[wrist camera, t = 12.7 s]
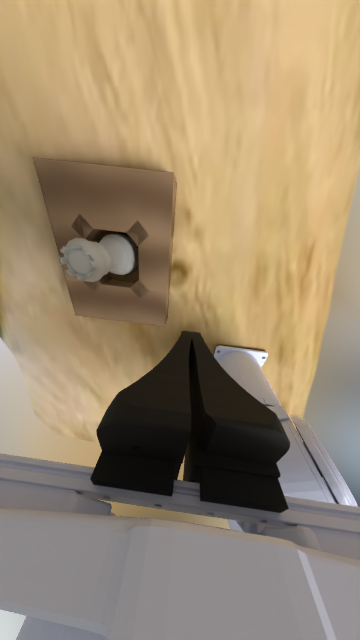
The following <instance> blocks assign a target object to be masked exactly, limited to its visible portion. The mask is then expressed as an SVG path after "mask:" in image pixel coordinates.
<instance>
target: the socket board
mask: <svg viewBox="0 0 360 640" xmlns="http://www.w3.org/2000/svg"><path fill="white" fill-rule="evenodd" d="M33 160H34V164H35V167H36V171H37V175H38V178H39V182H40V186H41V189H42V193H43V197H44V201H45V204H46V208H47V212H48V215H49V219H50V223H51V226H52V230H53V234H54V238H55V241H56V245H57V249H58V252H59V256H60V257H64V254H63V253H62V252H60V250H61V248H62V247H63V246H66V245H67V243H68V242H69V241H70V240H72V239H75V238H82V239H86V240H88V241H91V242H97V243H99V241H98V240H99V239H100V238H101V236H102V235H103V234H104V233H105V231H106V230H108V231H117V232H125V233H127V234H128V235H129V236H130V237H131V238H132V240H133V241H134V242H135V243H136V245H137V246H138V256H139V280H138V281H137V282H128V281H120V280H112V279H111V278H110V277H109V276H108V275H107V274H105V275H103V276H102V277H101V279H100V280H98V281H95V282H88V281H84V280H77V276H76V275H74V276H70V275H69V274H68V273H67V272H66V270H68V269H69V268H68V267H67V265H66V264H63V265H62V267H63V271H64V275H65V278H66V282H67V286H68V289H69V293H70V297H71V300H72V304H73V308H74V312H75V315H77V316H84V317H92V318H100V319H108V320H116V321H123V322H131V323H139V324H147V325H154V326H162V327H165V324H166V321H167V318H168V303H169V289H170V274H171V260H172V245H173V231H174V217H175V202H176V188H177V182H176V178H175V175H174V173H173V172H164V171H154V170H145V169H136V168H127V167H117V166H108V165H99V164H90V163H80V162H71V161H62V160H53V159H43V158H34V157H33Z"/></svg>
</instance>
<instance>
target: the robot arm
mask: <svg viewBox="0 0 360 640" xmlns="http://www.w3.org/2000/svg"><path fill="white" fill-rule="evenodd" d="M267 356H268V353H267V352H265V351H259V350H251V349H243V348H235V347H228V346H220V345H219V346H217V347H216V349H215V353H214V356H213V355H212V353H211V352H210V350H209V348H208V347H207V345H206V343H205V342H204V340H203V338H202V336H201V334H200V333H197V332H189V331H182V332H181V335H180V337H179V339H178V341H177V342H176V344H175V345H174V347H173V348H172V349H171V351H170V352H169V353H168V354H167V355H166V357H165V358H164V359H163V360H162V361H161V362H160V363H159V364H158V365H157V366H155V367H154V368H153V369H152V370H151V371H150V372H148V373H147V374H146V375H144V376H143V377H142V378H140V379H139V380H138V381H136V382H135V383H133V384H131V385H130V386H128V387H127V388H125V389H123V390H122V391H120V392H119V393H118V394H117V395H116V397H115V398H114V400H113V401H112V403H111V404H110V406H109V407H108V409H107V410H106V412H105V414H104V416H103V418H102V420H101V422H100V424H99V426H98V428H97V430H96V431H97V437H98V440H99V443H100V446H101V449H102V452H101V455H100V457H99V459H98V461H97V464H96V466H95V468H94V467H87V466H80V465H74V464H67V463H60V462H53V461H47V460H40V459H33V458H27V457H20V456H13V455H7V454H0V609H1V610H5V611H9V612H14V613H18V614H22V615H26V619H25V621H24V623H23V625H22V628H21V630H20V632H19V634H18V637H17V639H16V640H360V507H357V504H356V501H355V499H354V497H353V496H352V494H351V492H350V490H349V488H348V487H347V485H346V483H345V481H344V480H343V478H342V477H341V475H340V473H339V471H338V470H337V468H336V466H335V465H334V463H333V461H332V460H331V458H330V456H329V455H328V453H327V452H326V450H325V448H324V447H323V445H322V444H321V442H320V441H319V439H318V438H317V436H316V434H315V433H314V431H313V430H312V428H311V427H310V426H309V424H308V423H307V422H306V421H305V420H304V419H302V418H299V417H298V416H297V415H291V418H292V420H293V422H294V424H295V426H296V429H297V431H298V433H299V435H300V436H301V438H302V440H303V442H302V440H301V439H300V437H299V435H298V433H297V431H296V429H295V428H294V426H293V424H292V422H291V420H290V418H289V417H288V415H287V413H286V411H285V409H284V407H283V406H282V405H281V404H280V402H279V400H278V398H277V396H276V394H275V393H274V391H273V389H272V387H271V385H270V383H269V381H268V380H267V378H266V376H265V374H264V372H263V370H262V366H263V364H264V362H265V360H266V358H267ZM184 455H185V460H184V475H183V481H180V480H177V477H178V474H179V470H180V466H181V464H182V463H183V459H184ZM322 477H323V478H324V480H325V482H326V484H327V486H328V488H327V486H326V484H325V482H324V481H323V479H322ZM97 499H99V500H97ZM100 500H105V501H112V502H118V503H125V504H131V505H138V506H144V507H152V508H158V509H165V510H171V511H178V512H184V513H191V514H197V515H204V516H210V517H217V518H223V519H227V520H228V523H229V526H230V530H229V529H224V528H218V527H212V526H206V525H199V524H193V523H185V522H177V521H169V520H159V519H149V518H137V517H123V516H116V515H114V514H113V513H112V512H111V508H112V507H111V504H110V503H107V502H104V501H100Z"/></svg>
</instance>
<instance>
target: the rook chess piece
mask: <svg viewBox="0 0 360 640" xmlns="http://www.w3.org/2000/svg"><path fill="white" fill-rule="evenodd" d="M60 252H62V253H63V254H64V257H60V258H59V259H60V262H61V265H63V264H66V265H67V267H68V268H69V269H68V270H66V272H67V273H68V274H69V275H70V276H74V275H76V276H77V280H84V281H88V282H95V281H98V280H100V279H101V277H102V276H103V275H105V274H107V273H108V272H109V271H110V272H112V273H114V274H119V275H124V274H128V273H131V272H133V271H134V270H135V269H136V268H137V265H138V262H139V256H138V250H137V247H136V245H135V244H134V242H133V241H132V240H131V239H130V238H129V237H127V236H125V235H124V234H118V233H114V234H109V235H106V236H104V237H103V238H102V239H101V241H100V242H99V243H97V242H91V241H88V240H86V239H82V238H75V239H72V240H70V241H69V242H68V243H67V245H66V246H63V247H62V248H61V250H60Z"/></svg>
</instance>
